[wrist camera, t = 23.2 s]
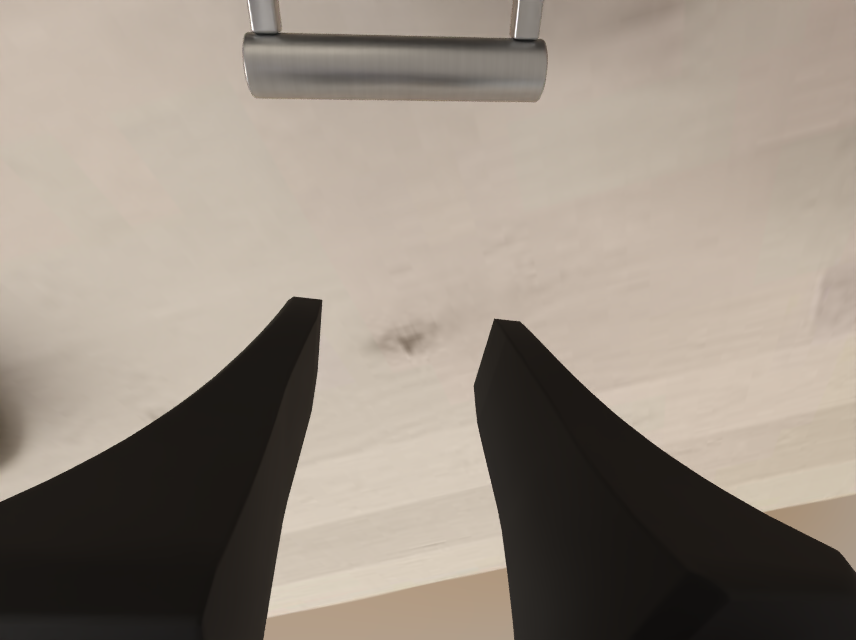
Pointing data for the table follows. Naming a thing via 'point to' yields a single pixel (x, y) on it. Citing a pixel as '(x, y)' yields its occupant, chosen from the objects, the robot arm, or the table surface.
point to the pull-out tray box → (395, 62)
